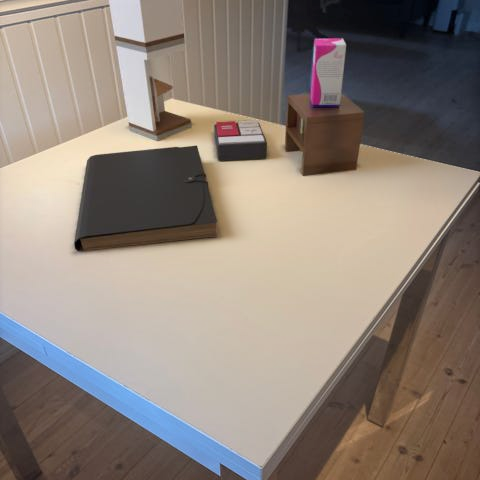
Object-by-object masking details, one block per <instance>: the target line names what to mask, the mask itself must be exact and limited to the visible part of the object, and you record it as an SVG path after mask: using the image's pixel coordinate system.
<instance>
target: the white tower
mask: <svg viewBox="0 0 480 480" xmlns="http://www.w3.org/2000/svg"><path fill="white" fill-rule="evenodd" d="M182 2H183V1H182V0H108V4H109V5H108V6H109V10H110V17H111V22H112V23H111V24H112V29H113V35H114V42H115V48H116V54H117V61H118V67H119V72H120V78H121V85H122V91H123V97H124V103H125V110H126V116H127V122H128V127H129V131H131V132H132V133H135V134H139V135H141V136H143V137H146V138H149V139H152V140H154V141H157V142H159V141H161V140H163V139H166V138H169V137H172V136H173V135H176V134H179V133H181V132H184V131H186V130H189V129H192V120H191V118H189V117H184V116H181V115H179V114H175V113H173V112H170V111H167V110H166V108H165V99H164V98H165V97H164V94H166V93H168V92H170V91H172V90H173V89H174V83H173V73H172V63H171V61H172V60H171V54H175V53H179V52H183V51H186V42H185V41H186V40H185V29H184V28H185V27H184V15H183V13H184V12H183V5H182V4H183V3H182Z"/></svg>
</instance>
